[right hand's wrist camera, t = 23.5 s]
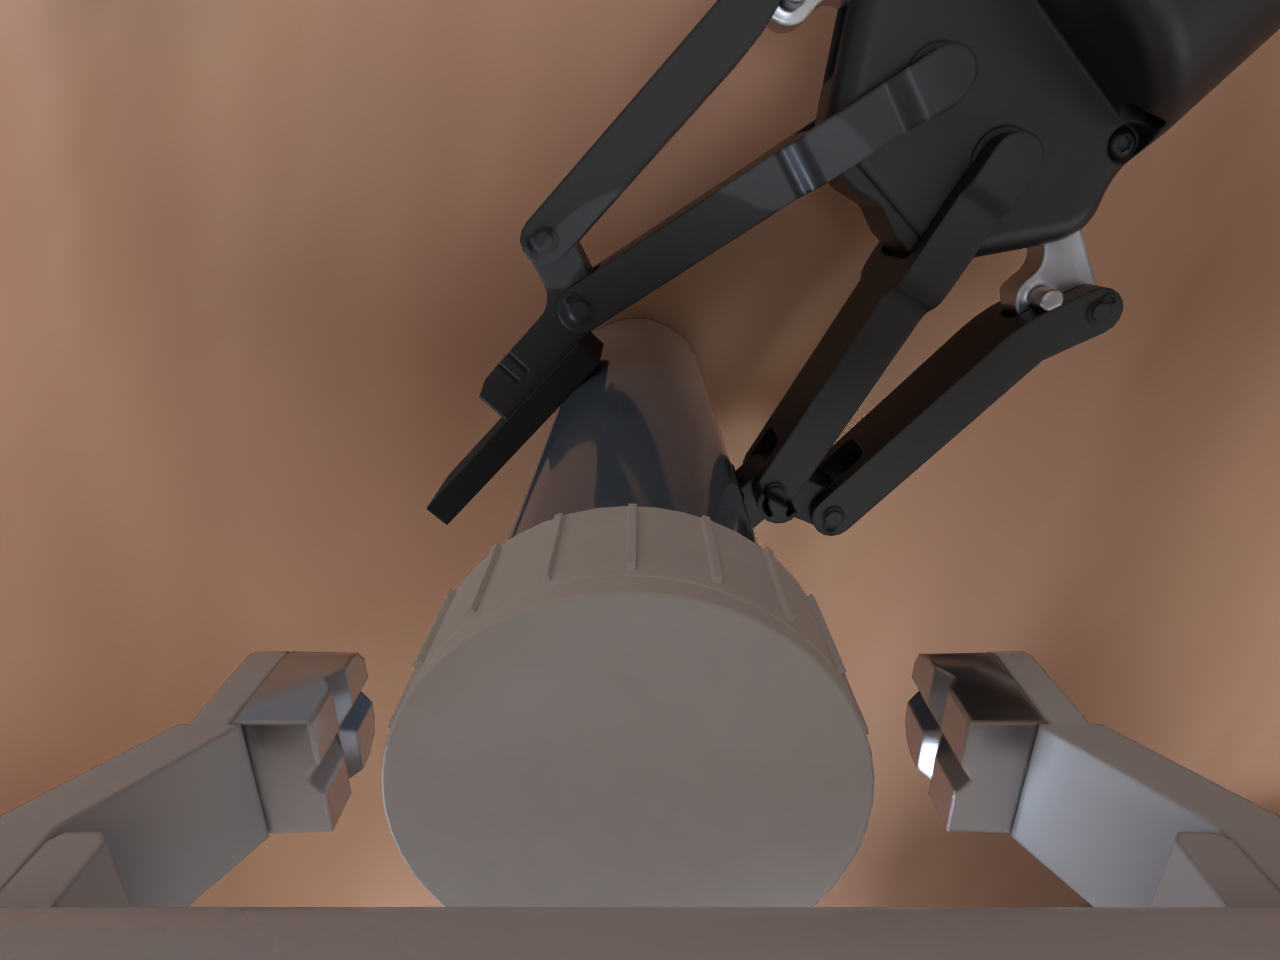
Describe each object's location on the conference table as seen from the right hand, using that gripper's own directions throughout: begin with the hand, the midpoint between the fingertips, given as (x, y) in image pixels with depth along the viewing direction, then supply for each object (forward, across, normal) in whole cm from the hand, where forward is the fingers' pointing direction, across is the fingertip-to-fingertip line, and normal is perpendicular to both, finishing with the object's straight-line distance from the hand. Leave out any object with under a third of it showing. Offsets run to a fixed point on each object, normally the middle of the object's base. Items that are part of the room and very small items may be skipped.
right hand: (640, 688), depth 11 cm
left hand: (+11, -4, -4) cm, 13 cm away
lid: (-2, 0, 0) cm, 2 cm away
